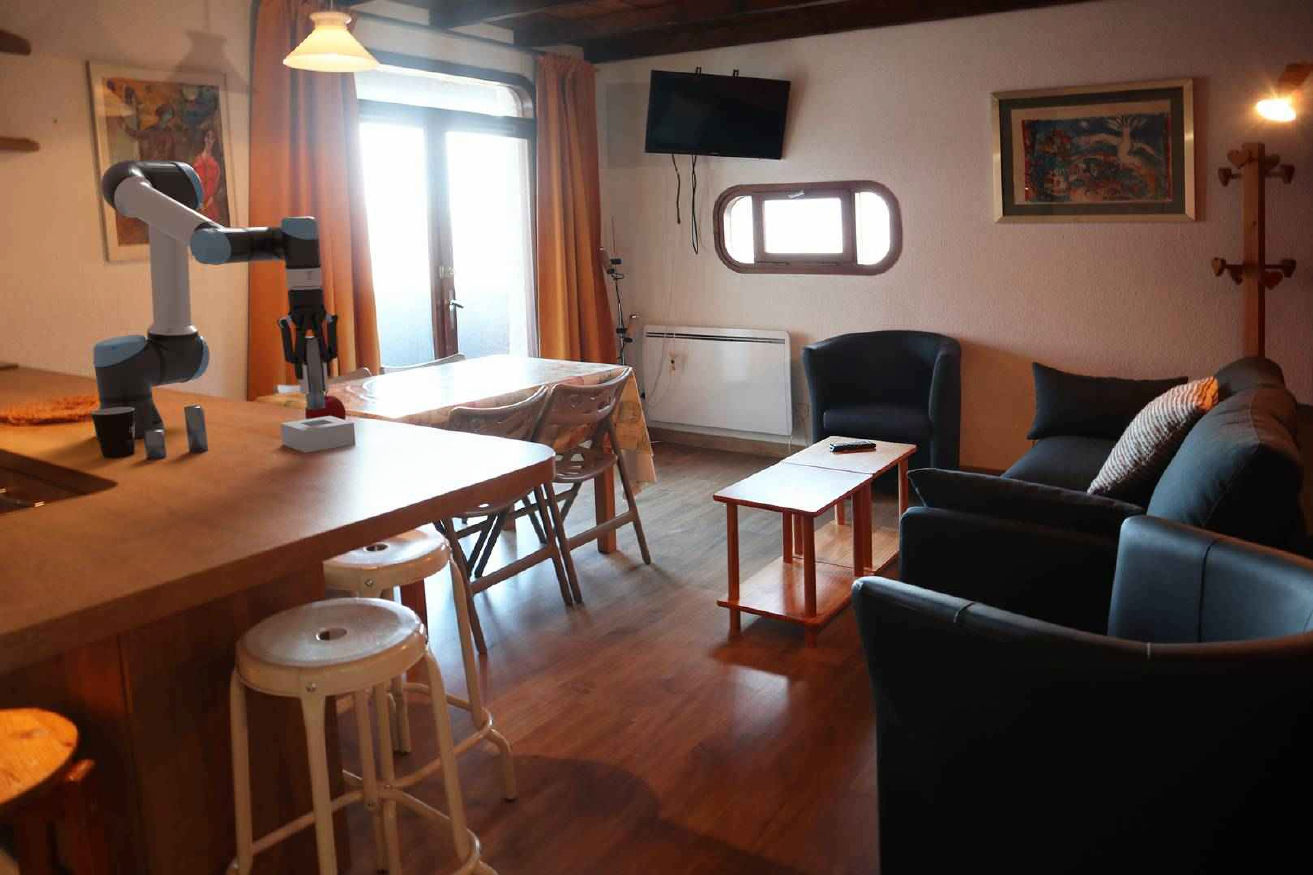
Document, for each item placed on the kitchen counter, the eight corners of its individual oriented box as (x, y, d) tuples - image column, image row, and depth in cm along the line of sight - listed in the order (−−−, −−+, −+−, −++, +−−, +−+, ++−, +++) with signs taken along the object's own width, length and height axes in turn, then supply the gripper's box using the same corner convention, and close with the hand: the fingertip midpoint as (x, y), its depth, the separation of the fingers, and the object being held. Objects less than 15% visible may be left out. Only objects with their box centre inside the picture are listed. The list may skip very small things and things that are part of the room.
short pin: (144, 457, 236) (140, 430, 234) (163, 454, 238) (160, 428, 237) (150, 460, 233) (146, 433, 231) (169, 457, 235) (166, 430, 234)
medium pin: (186, 450, 241) (181, 407, 239) (204, 448, 244) (199, 404, 242) (192, 453, 239) (187, 409, 236) (211, 450, 241) (206, 406, 239)
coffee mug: (122, 460, 234) (117, 414, 232) (88, 459, 235) (82, 414, 233) (157, 448, 245) (152, 405, 243) (123, 447, 247) (118, 404, 244)
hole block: (282, 444, 246) (280, 423, 245) (332, 436, 254) (330, 415, 253) (305, 452, 237) (303, 430, 236) (355, 444, 245) (353, 422, 244)
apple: (341, 425, 267) (337, 385, 264) (351, 431, 259) (348, 390, 257) (303, 430, 262) (299, 389, 260) (312, 436, 254) (308, 394, 252)
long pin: (311, 410, 241) (305, 339, 237) (304, 408, 244) (297, 337, 240) (328, 407, 243) (322, 337, 240) (320, 405, 246) (314, 336, 243)
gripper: (274, 291, 230) (285, 399, 234) (348, 286, 241) (357, 389, 246) (260, 289, 235) (271, 395, 240) (333, 284, 246) (342, 385, 251)
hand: (314, 392), depth 243 cm, fingers closed on long pin, 4 cm apart
